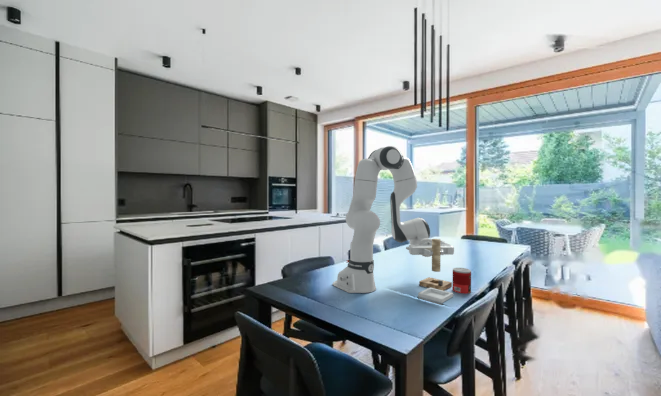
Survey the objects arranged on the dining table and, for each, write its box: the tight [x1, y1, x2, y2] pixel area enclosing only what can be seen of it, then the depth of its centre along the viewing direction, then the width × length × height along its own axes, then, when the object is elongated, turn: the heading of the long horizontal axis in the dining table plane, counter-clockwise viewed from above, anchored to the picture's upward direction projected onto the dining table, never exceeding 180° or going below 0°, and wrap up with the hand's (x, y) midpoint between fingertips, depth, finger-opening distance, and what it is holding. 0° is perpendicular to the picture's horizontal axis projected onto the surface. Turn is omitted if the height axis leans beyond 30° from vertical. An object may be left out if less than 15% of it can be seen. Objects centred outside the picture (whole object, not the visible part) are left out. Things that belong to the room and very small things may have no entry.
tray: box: [417, 287, 454, 306], centre depth 133 cm, size 11×11×2 cm
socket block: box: [418, 277, 453, 291], centre depth 148 cm, size 12×10×5 cm
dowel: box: [431, 238, 442, 273], centre depth 132 cm, size 4×4×14 cm
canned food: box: [452, 267, 472, 295], centre depth 140 cm, size 8×8×11 cm
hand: (436, 253), depth 132 cm, fingers closed on dowel, 4 cm apart
